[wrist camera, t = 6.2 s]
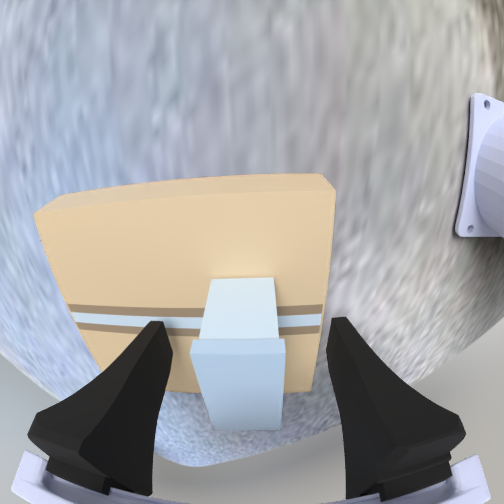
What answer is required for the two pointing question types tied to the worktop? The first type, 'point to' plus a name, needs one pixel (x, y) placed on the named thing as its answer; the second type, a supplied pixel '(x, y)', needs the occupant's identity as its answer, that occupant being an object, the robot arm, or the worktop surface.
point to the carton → (192, 260)
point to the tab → (241, 355)
